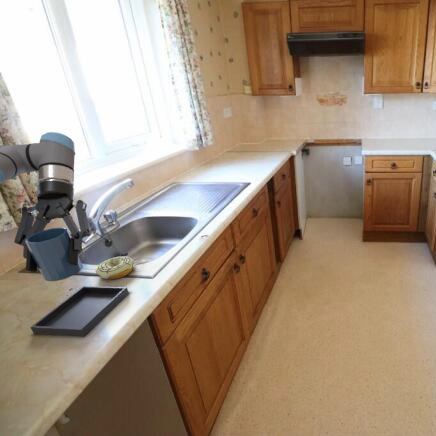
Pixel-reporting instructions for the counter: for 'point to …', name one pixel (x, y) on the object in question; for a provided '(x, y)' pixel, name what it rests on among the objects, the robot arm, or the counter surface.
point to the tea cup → (53, 254)
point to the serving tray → (80, 311)
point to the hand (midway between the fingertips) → (52, 267)
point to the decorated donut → (115, 267)
